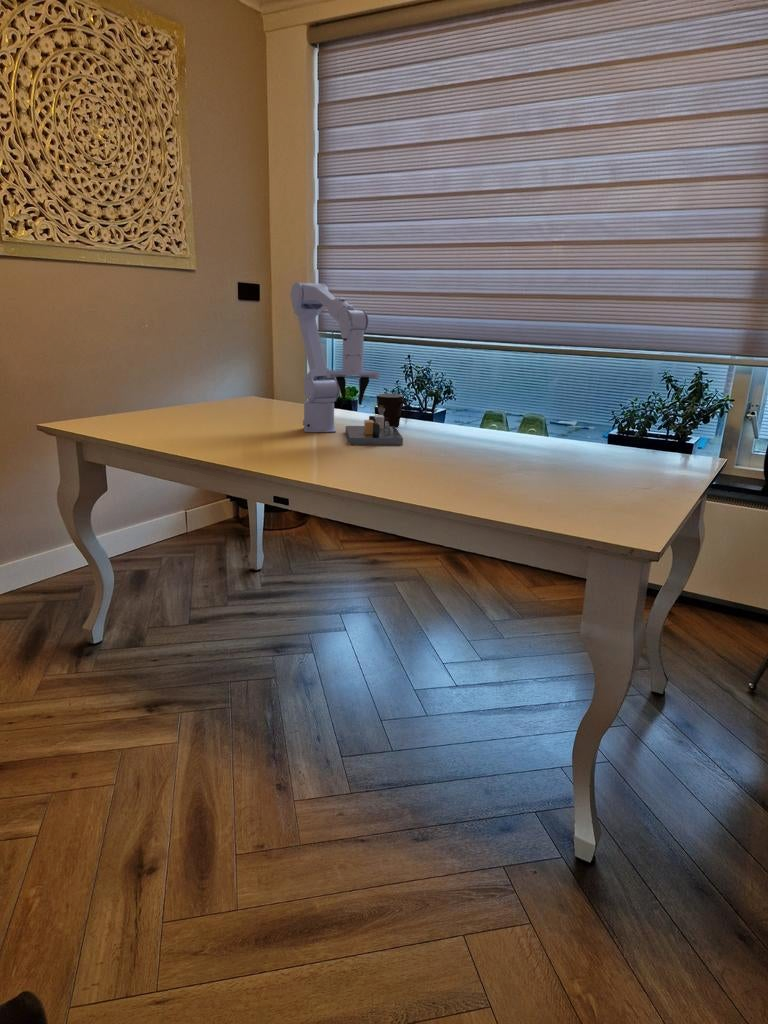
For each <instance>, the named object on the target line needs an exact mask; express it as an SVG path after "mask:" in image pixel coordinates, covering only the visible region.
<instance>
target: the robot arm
mask: <svg viewBox="0 0 768 1024" xmlns="http://www.w3.org/2000/svg"><path fill="white" fill-rule="evenodd" d="M328 287H329V286H328V285H326V284H325V283H323V282H319V283H316V282H300V281H295V282H294V283H293V284H292V286H291V290H290V295H289V297H290V300H291V306H292V309H293V313H294V314H295V315H296V316H297V320H298V321H297V322H298V325H299V329H300V330H299V331H300V334H301V339H302V342H303V343H302V344H303V347H304V351H305V356H306V359H307V363H308V364H307V365H308V368H309V371H308V372H307V373H306V374H305V375H304V377H303V386H304V387H303V390H304V391H303V393H304V395H305V397H306V399H307V400H305V401H304V402H303V403H304V404H303V420H302V426H304V427H303V429H304V430H303V431H304V433H336V431H337V430H336V426H335V402H337V399H338V398H339V397H340V394H341V398H342V399H341V400H342V405H347V404H346V403H347V402H346V401H347V400H346V398H347V397H346V386H347V385H346V379H359V380H358V385H359V388H358V390H359V391H358V405H362V403H363V399H364V395H365V392H366V389H367V387H368V385H369V384H370V379H374V380H379V375H380V374H379V373H380V372H379V371H375V370H364V335H365V332H366V330H367V329H368V327H369V316H368V314H367V312H366V311H365V310H364V309H356V308H355V306H354V305H352V304H349V302H347V301H346V298H345V297H337V298H336V297H335V296H334V294H332V292H330V291H329V288H328ZM324 307H325V308H326V309H327V311H328V314H329V316H330V317H331V318H333V319H334V320H335V321H336V322H338V326H339V329H340V336H341V338H342V369H340V370H338V369H337V370H333V369H332V370H331V369H330V368H329V367H327V363H326V359H325V354H324V350H323V346H322V342H321V338H320V333H319V329H318V324H317V321H316V318H317V316H319V315H320V314H322V311H323V309H324Z"/></svg>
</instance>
